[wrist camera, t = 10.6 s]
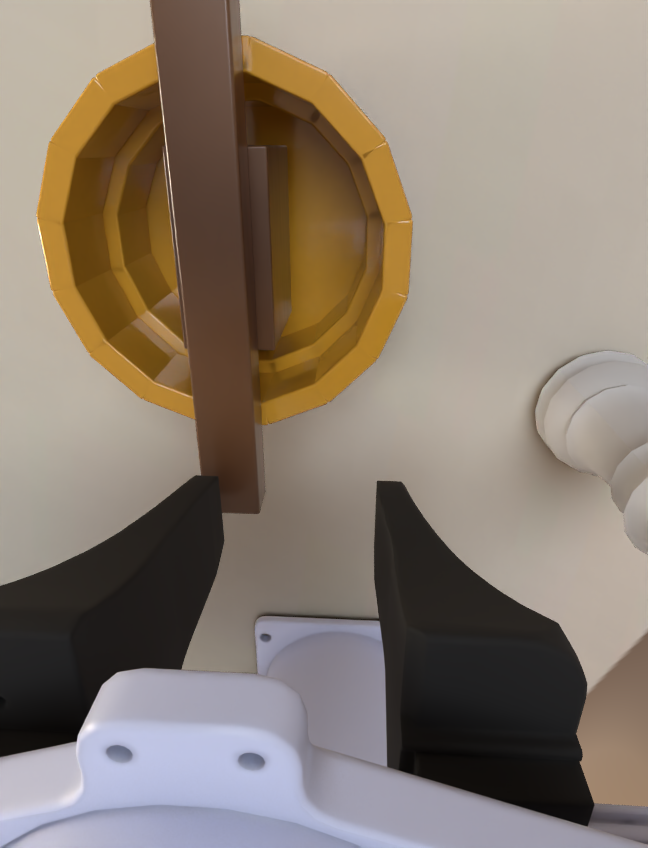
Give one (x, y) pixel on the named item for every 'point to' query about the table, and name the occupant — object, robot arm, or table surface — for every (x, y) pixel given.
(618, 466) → the rook chess piece
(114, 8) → the table surface
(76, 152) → the bowl
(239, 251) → the tall wooden post
